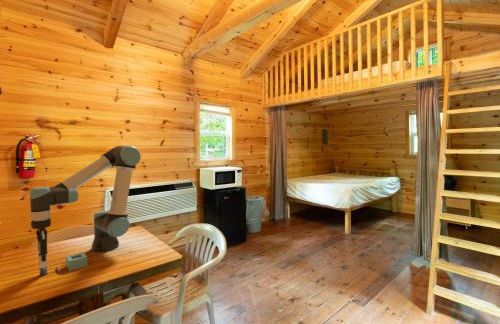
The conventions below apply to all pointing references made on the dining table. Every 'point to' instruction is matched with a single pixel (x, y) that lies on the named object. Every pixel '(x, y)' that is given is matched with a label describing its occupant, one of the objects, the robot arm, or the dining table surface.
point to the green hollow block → (76, 261)
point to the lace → (58, 270)
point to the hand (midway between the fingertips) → (43, 266)
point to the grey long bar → (42, 270)
